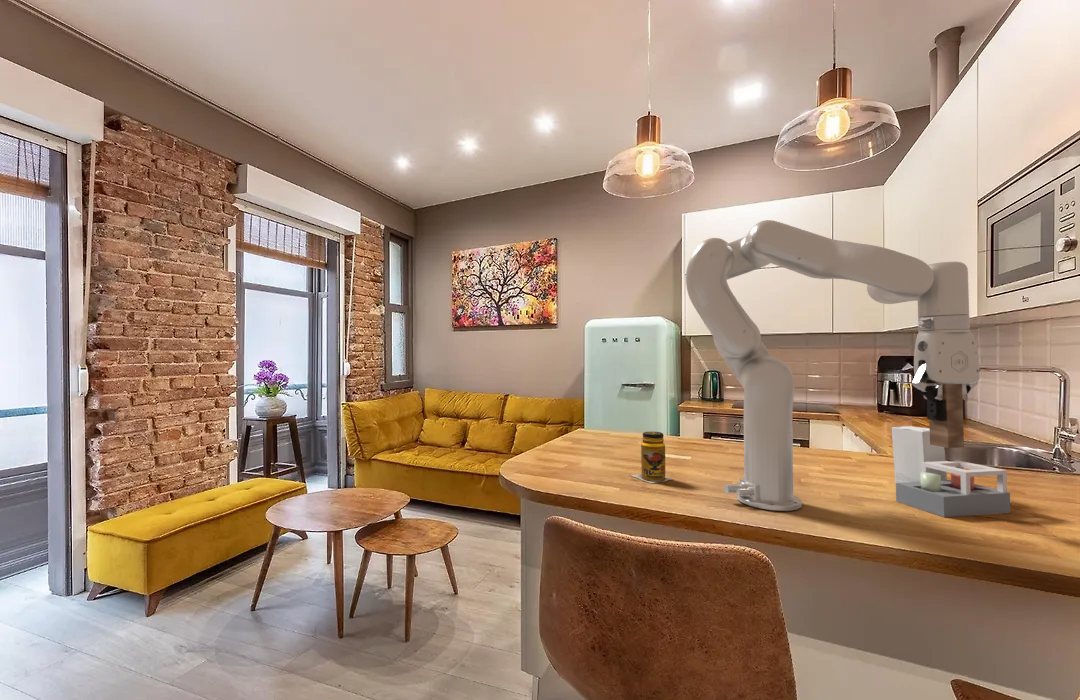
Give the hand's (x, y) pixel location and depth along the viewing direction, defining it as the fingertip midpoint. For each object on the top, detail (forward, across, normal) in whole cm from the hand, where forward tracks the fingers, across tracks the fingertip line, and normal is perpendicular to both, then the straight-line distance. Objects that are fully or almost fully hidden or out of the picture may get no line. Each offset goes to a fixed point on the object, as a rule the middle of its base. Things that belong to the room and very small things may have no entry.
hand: (945, 418), depth 88 cm
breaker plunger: (+16, +11, +6) cm, 21 cm away
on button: (+16, +3, +6) cm, 17 cm away
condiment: (+19, -46, +37) cm, 62 cm away
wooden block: (+5, 0, 0) cm, 5 cm away
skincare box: (+20, +13, +17) cm, 29 cm away
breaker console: (+19, +8, +6) cm, 22 cm away
